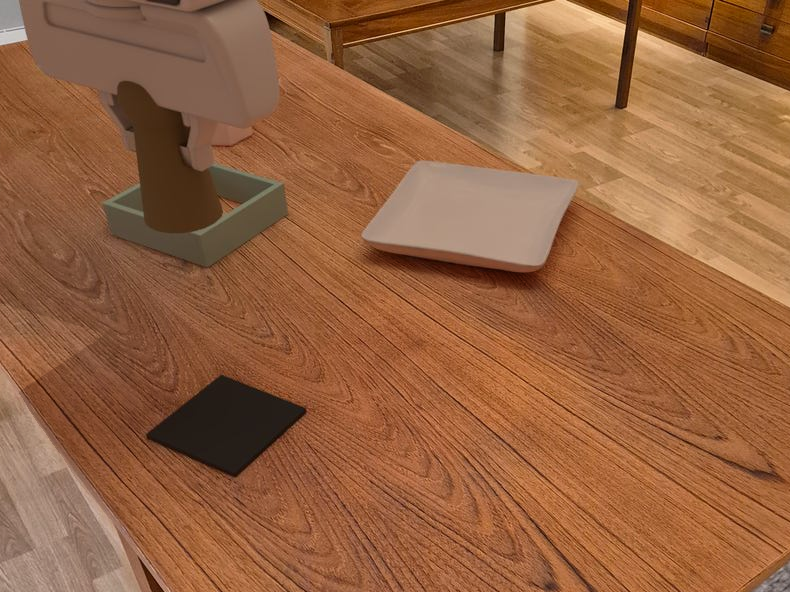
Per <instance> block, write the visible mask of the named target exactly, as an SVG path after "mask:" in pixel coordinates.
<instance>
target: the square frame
mask: <svg viewBox="0 0 790 592" xmlns="http://www.w3.org/2000/svg"><path fill="white" fill-rule="evenodd" d="M209 171H210V174H211V177H212V180H213V183H214V186H215V189H216V192H217V195H218V197H220V198H223V199H226V200H229V201H233V202H235V203H240V205H239V206H237V207H235V208H234V209H232V210H231V211H229V212H227V213H226V214H224V215H222V216H221V218H220V219H219V220H218V221H217V222H216V223H214V224H212V225H211V226H209V227H207V228H204V229H201V230H198V231H194V232H187V233H164V232H159V231H156V230H154V229H151V228H149V227H148V226H147V225H146V223H145V221H144V213H143V205H142V196H141V188H140V182H138V183H137V184H134V185H133V186H131V187H129V188H127V189H125V190H123V191H122V192H120V193H118V194H115V196H112V197H111V198H109V199H107V200H104V201H103V202H101V204H102V207H103V212H104V215H105V217H106V221H107V224H108V228H109V231H110V235H112V236H114V237H117V238H119V239H120V238H121V239H123V240H126V241H129V242H130V243H131V242H132V243H134V244H137V245H140V246H143V247H146V248H149V249H152V250H154V251H157V252H161V253H163V254H166V255H169V256H172V257H174V258H178V259H181V260H184V261H187V262H189V263H193V264H195V265H197V266H201V267H204V268H206V269H208V268H210V267H211V266H212V265H214V264H216V263H217V262H219V261H220V260H221V259H223V258H225V257H226V256H228V255H229V254H230V253H232V252H233V251H235V250H237V249H238V248H240V247H241V246H243V245H245V244H246V243H247V242H249V241H250V240H252V239H253V238H255V237H256V236H257V235H259V234H260V233H262V232H264V231H266V230H267V229H268V228H270V227H271V226H273V225H274V224H276V223H278V222H279V221H280V220H282V219H284V218H285V217H287V216H288V215H289V211H288V203H287V196H286V188H285V183H284V182H282V181H278V180H274V179H272V178H267V177H263V176H260V175H257V174H253V173H250V172H247V171H244V170H241V169H237V168H233V167H230V166H226V165H223V164H219V163H216V162H213V165H212V166H211V167H209Z"/></svg>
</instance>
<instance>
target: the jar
mask: <svg viewBox="0 0 790 592" xmlns="http://www.w3.org/2000/svg"><path fill="white" fill-rule="evenodd" d="M253 133H254V132H253V126H251V127H249V128H245V129H241V128H237V127H234V126H230V125H226V124H223V123H219V122H218V124H217V127H216V130H215V133H214V136H213V139H212V141H211V147H213V146H214V147H232V146H234V145H236V144H237V143H240V142H242V141H243V140H245V139H247V138H249V137H251V136H253Z"/></svg>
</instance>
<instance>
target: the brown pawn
mask: <svg viewBox="0 0 790 592" xmlns="http://www.w3.org/2000/svg"><path fill="white" fill-rule="evenodd" d="M117 97H118V100H119V104H120V106H121V108H122V110H123V112H124V114H125V115H126V116H128V117H129V118H130V119H131V120H132V122H133V130H134V139H135V147H136V152H135V153H136V162H137V163H136V164H137V170H138V180H139V183H140V188H141V196H142V205H143V213H144V221H145V223H146V225H147V226H148V227H149V228H151V229H154V230H156V231H159V232H164V233H187V232H194V231H198V230H199V231H200V230H202V229H204V228H207V227H209V226H211V225H212V224H214V223H216V222H217V221H218V220H219V219H220V218H221V217H223V213H224V209H223V206H222V203H221V200H220V198H219V197H220V196H218V195H217V192H216V189H215V186H214V183H213V180H212V177H211V174H210V171H209V168H207V169H206V170H204V171H198V170H195V169H192V168H188V167H186V166H184V165H183V163H182V158H183V157H182V156H181V154H180V150H179V145H180V144H182V143H184V142H188V139H189V134H190V129H191V126H190V127H188V126H185V125H184V123H183V118H182V114H181V112H178V111H174V110H170V109H167V108H163V107H160V106H158V105H157V104H156V103H155V101H154V100H153V99H152V97H151V96H150V94H149V93H148V92H147V91H146V90H145V89H144V87H142V86H140V85H139V84H136V83H134V82H131V81H121V82H120V83H119V84H118V87H117Z"/></svg>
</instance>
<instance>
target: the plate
mask: <svg viewBox="0 0 790 592" xmlns="http://www.w3.org/2000/svg"><path fill="white" fill-rule="evenodd" d="M579 185H580V182H579V180H577V179H573V178H566V177H559V176H552V175H544V174H537V173H529V172H522V171H513V170H507V169H497V168H490V167H481V166H475V165H474V166H473V165H466V164H457V163H449V162H442V161H434V160H422V159H421V160H418V161H415V163H414V164H413V165H412V166H411V167H410V169H409V170H408V171H407V172H406V174H405V175H404V177H402V179H401V180H400V182H399V183H398V185H397V186H396V187H395V189H394V190H393V192H392V193H391V194H390V195H389V196H388V198H387V199H386V200H385V202H384V203H383V205H382V206H381V208H380V209H379V210H378V211H377V212H376V214H375V215H374V216H373V218H372V219H371V220H370V221H369V223H368V224H367V225H366V227H365V228H364V229H363V231H362V232H361V234H360V238H361V240H363V242H364V243H365V244H367V245H369V246H370V247H372V248H374V249H376V250H380V251H382V252H387V253H391V254H398V255H402V256H403V255H404V256H410V257H413V258H418V259H419V258H420V259H425V260H432V261H437V262H438V261H439V262H443V263H444V262H445V263H449V264H454V265H455V264H456V265H462V266H470V267H476V268H477V267H478V268H484V269H492V270H500V271H501V270H502V271H506V272H513V273H532V272H535V271H536V272H537V271H538V270H540V269H542V268H543V267H544V265H545V264H546V262H547V260H548V257H549V255H550V252H551V250H552V247H553V243H554V240H555V237H556V234H557V233H558V229H559V227H560V224H561V222H562V220H563V218H564V216H565V214H566V212H567V209H568V208H569V206H570V204H571V202H572V200H573V198H574V197H575V195H576V193H577V191H578V189H579Z"/></svg>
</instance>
